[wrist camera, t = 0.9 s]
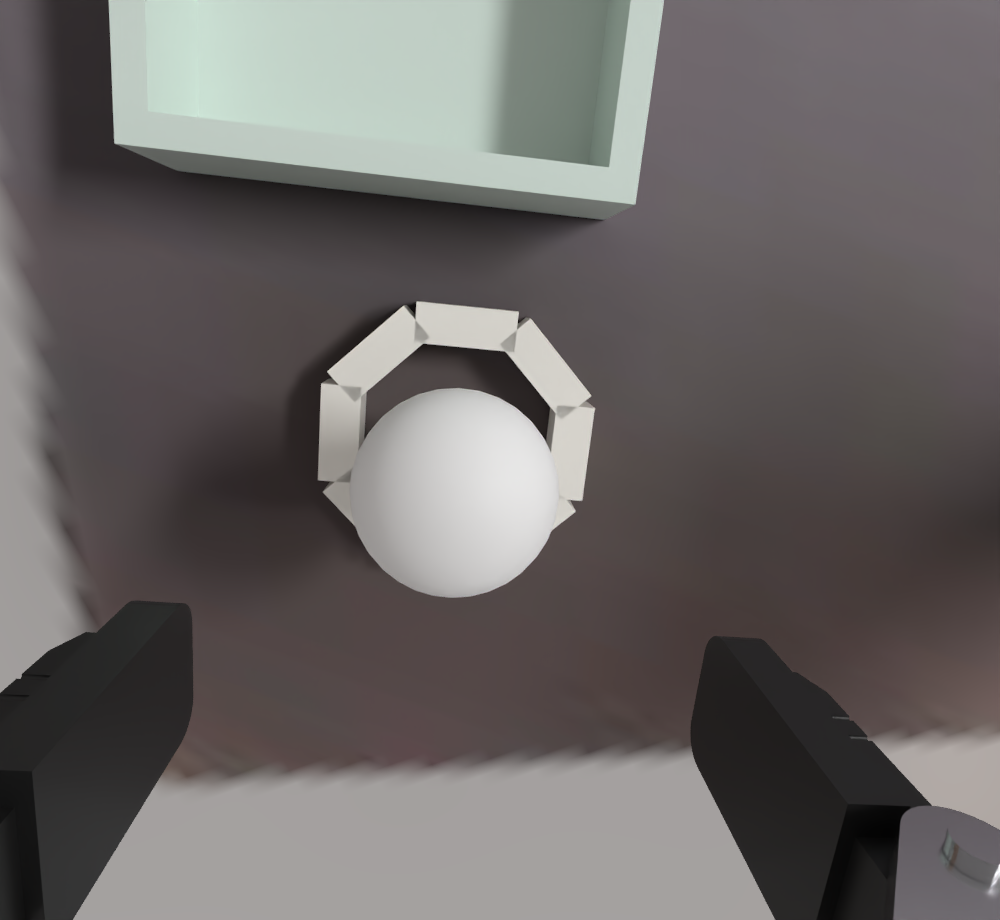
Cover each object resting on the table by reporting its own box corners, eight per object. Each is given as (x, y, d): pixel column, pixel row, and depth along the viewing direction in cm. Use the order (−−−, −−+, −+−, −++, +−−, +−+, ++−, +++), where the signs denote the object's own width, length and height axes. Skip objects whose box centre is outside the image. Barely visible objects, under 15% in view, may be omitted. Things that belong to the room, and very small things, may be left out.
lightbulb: (358, 392, 26) (290, 459, 16) (500, 339, 26) (529, 371, 15) (414, 525, 28) (387, 669, 17) (549, 476, 28) (605, 591, 17)
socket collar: (597, 319, 26) (606, 320, 25) (565, 562, 29) (571, 577, 27) (332, 292, 25) (324, 292, 24) (323, 545, 28) (315, 560, 26)
